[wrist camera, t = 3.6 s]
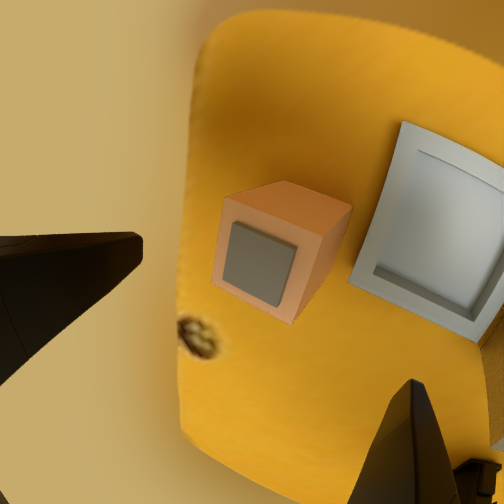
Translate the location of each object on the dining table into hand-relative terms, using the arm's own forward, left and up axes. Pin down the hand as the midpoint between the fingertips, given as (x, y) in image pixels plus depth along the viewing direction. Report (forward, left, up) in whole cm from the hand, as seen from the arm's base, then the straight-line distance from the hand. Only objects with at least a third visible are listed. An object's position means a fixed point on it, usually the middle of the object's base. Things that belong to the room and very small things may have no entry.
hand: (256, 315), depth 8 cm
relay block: (-2, +2, -12) cm, 13 cm away
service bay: (+2, -7, -12) cm, 14 cm away
